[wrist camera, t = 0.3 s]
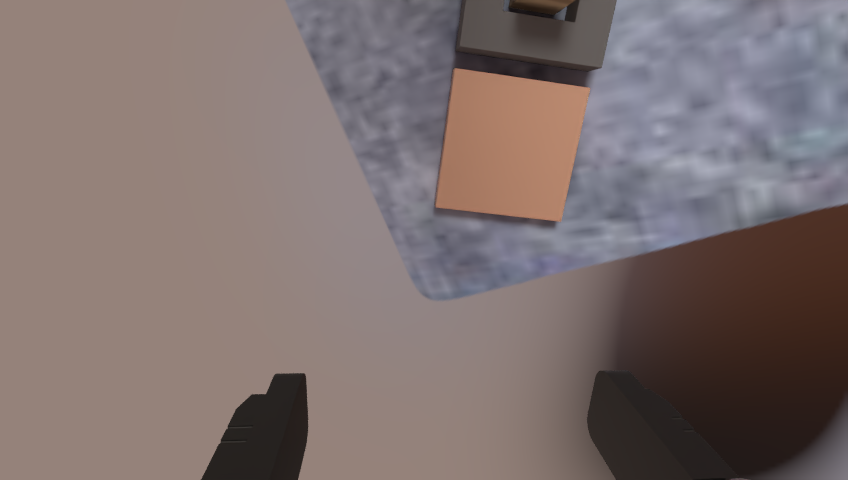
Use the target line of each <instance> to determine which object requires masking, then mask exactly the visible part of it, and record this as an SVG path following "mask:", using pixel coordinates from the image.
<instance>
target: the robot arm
mask: <svg viewBox="0 0 848 480" xmlns="http://www.w3.org/2000/svg"><path fill="white" fill-rule="evenodd" d="M587 423H588V430H589V433H590V436H591V438H592V440H593V442H594V444H595V446H596V447H597V449H598V450H599V452H600V454H601V455H602V457H603V459H604V460H605V462H606V464H607V465H608V467H609V468H610V470H611V472H612V473H613V475H614V477H615V478H616V480H748V479H743V478H739V476H738V475H737V474H736V473H735V472H734V471H733V470H732V469H731V468H730V467H729V466H728V465H727V464H726V463H725V461H724V460H723V459H722V458H721V457H720V456H719V455H718V454H717V453H716V452H715V451H714V450H713V449H712V448H711V447H710V446H709V444H708V443H707V442H706V441H705V440H704V439H703V438H702V437H701V436H700V435H699V434H698V433H697V432H694V429H693V427H692V426H691V425H690V424H689V423H688V422H687V421H686V420H683V419H682V416H681V415H680V414H679V413H678V412H677V410H675V408H673V406H672V405H671V404H670V403H669V402H668V401H666V400H665V399H663V398H662V397H660V396H659V395H657V394H656V393H654V392H653V391H651V390H650V389H645V388H644V387H643V386H642V384H640V382H639V381H638V380H637V379H636V378H635V377H634V376H633V375H632V374H631V373H630V372H629V371H626V370H625V371H622V370H621V371H599V372H598V373H597V375H596V378H595V382H594V387H593V392H592V396H591V401H590V406H589V411H588V417H587ZM307 435H308V407H307V387H306V376H305V374H304V373H300V374H299V373H295V374H294V373H293V374H275V375H274V377H273V379H272V382H271V384H270V387H269V389H268V391H267V393H266V394H259V395H258V394H255V395H251V396H250V397H249V398H248V399H247V400H245V401H244V402H243V403H242V404H241V405H240V406H239V407H238V408H237V409H236V411H235V413H234V415H233V417H232V419H231V421H230V423H229V425H228V429H226V431H225V433H224V435H223V437H222V439H221V443H220V444H219V445H218V447H217V449H216V451H215V453H214V455H213V457H212V459H211V461H210V463H209V465H208V467H207V470H206V471H205V473H204V475H203V477H202V479H201V480H298V477H299V473H300V469H301V465H302V461H303V456H304V452H305V447H306V443H307Z"/></svg>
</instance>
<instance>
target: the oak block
mask: <svg viewBox="0 0 848 480" xmlns="http://www.w3.org/2000/svg"><path fill="white" fill-rule="evenodd" d="M574 1H575V0H510V3H509V8H515V9H521V10H527V11H533V12H539V13H545V14H551V15H555V14H556V13H558V12H559V11H561V10H562V9H563V8H565V7H566V6H568V5H569V4H571V3H572V2H574Z"/></svg>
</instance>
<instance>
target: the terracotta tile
mask: <svg viewBox="0 0 848 480" xmlns="http://www.w3.org/2000/svg"><path fill="white" fill-rule="evenodd" d="M589 92H590V88H587V87H580V86H573V85H567V84H560V83H553V82H546V81H539V80H533V79H526V78H519V77H512V76H506V75H499V74H492V73H485V72H478V71H472V70H465V69H458V68H454V69H453V73H452V80H451V88H450V95H449V102H448V110H447V117H446V124H445V132H444V139H443V146H442V154H441V161H440V169H439V176H438V183H437V191H436V198H435V207H437V208H446V209H454V210H463V211H472V212H481V213H490V214H498V215H507V216H516V217H525V218H534V219H543V220H551V221H560V222H561V219H562V215H563V210H564V206H565V201H566V196H567V192H568V187H569V183H570V178H571V174H572V169H573V165H574V160H575V155H576V151H577V146H578V142H579V137H580V133H581V128H582V124H583V119H584V114H585V110H586V105H587V101H588V96H589Z"/></svg>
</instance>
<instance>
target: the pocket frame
mask: <svg viewBox="0 0 848 480" xmlns="http://www.w3.org/2000/svg"><path fill="white" fill-rule="evenodd" d="M616 1H617V0H575V1H574V2H572V3H571V4H569V5H568V7H567V12H566V17H565V21H563V20H556V19H550V18H544V17H538V16H532V15H526V14H520V13H513V12H507V11H503V6H504V0H462V7H461V14H460V21H459V29H458V36H457V44H456V51H457V52H464V53H470V54H477V55H483V56H490V57H497V58H503V59H510V60H516V61H523V62H530V63H536V64H543V65H550V66H556V67H563V68H569V69H576V70H583V71H591V70H595V69H599V68H602V64H603V59H604V55H605V50H606V46H607V41H608V37H609V32H610V28H611V23H612V19H613V14H614V10H615V5H616Z"/></svg>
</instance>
